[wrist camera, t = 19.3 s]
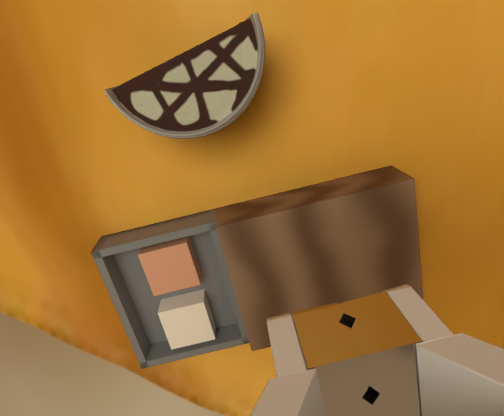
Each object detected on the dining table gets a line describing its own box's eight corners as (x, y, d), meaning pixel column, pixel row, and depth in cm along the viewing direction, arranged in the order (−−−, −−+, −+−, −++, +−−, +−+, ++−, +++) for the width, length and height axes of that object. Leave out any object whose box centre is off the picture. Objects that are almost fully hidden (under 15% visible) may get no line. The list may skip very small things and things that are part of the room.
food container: (163, 145, 37) (144, 172, 28) (129, 86, 35) (96, 93, 26) (276, 89, 36) (296, 97, 27) (249, 24, 34) (260, 9, 25)
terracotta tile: (137, 254, 37) (142, 243, 40) (153, 296, 39) (157, 283, 42) (186, 242, 37) (188, 232, 40) (200, 284, 39) (201, 272, 41)
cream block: (157, 313, 40) (161, 299, 42) (171, 349, 42) (173, 334, 44) (203, 302, 40) (204, 289, 42) (215, 339, 42) (215, 324, 44)
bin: (216, 208, 40) (216, 221, 37) (248, 321, 45) (250, 342, 42) (101, 236, 40) (90, 252, 37) (147, 346, 45) (141, 368, 42)
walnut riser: (391, 165, 40) (414, 178, 35) (402, 284, 45) (423, 309, 41) (216, 208, 40) (216, 227, 35) (248, 321, 45) (251, 351, 41)
